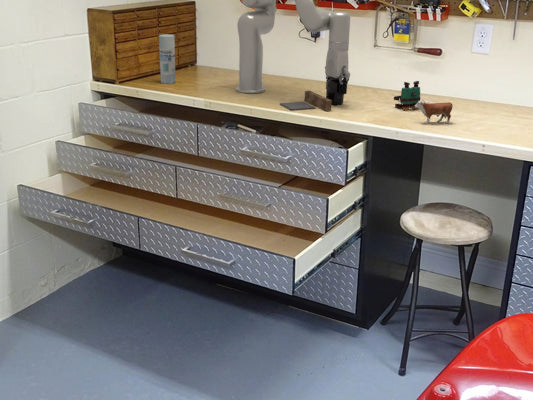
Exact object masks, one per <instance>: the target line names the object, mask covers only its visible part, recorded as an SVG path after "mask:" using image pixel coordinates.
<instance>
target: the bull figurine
mask: <svg viewBox="0 0 533 400" xmlns="http://www.w3.org/2000/svg"><path fill="white" fill-rule="evenodd" d="M415 107H416V108H419V109H418V110H421V113H422V114H423V115H424V116H425V117H426V121H425V122H424V125H428V124H429V122H430V120H431V117H433V116H436V117H437V118H439V117H440V118H439V119H438V120H437V122H438V123H440V122H442V121H443V119H447V120H446V121H445V125H446V124H449V123H450V120H451V117H452V114H451V112H452V110H453V103H451V102H433V101H429V100H424V99H421V98H420V101H419V102H418V103H417V104H416V105H415Z"/></svg>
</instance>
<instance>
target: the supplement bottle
mask: <svg viewBox="0 0 533 400" xmlns="http://www.w3.org/2000/svg"><path fill="white" fill-rule="evenodd" d="M330 78H331V79H329V80H328V81H327V89H325V91H326V93H325V98H328V99H330V100H332V106H335V107H336V106H342V105H343V104H344V100H345V99H344V98H345V94H342V95H339V84H340V81H339V78H333V77H330Z"/></svg>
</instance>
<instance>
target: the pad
mask: <svg viewBox="0 0 533 400" xmlns="http://www.w3.org/2000/svg"><path fill="white" fill-rule="evenodd" d="M279 106H281V107H284V108H286V109H287V110H289V111H303V110H304V111H305V110H315V109H316V106H314V105H312V104H310V103H308V102H305V101H291V102H280V103H279Z"/></svg>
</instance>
